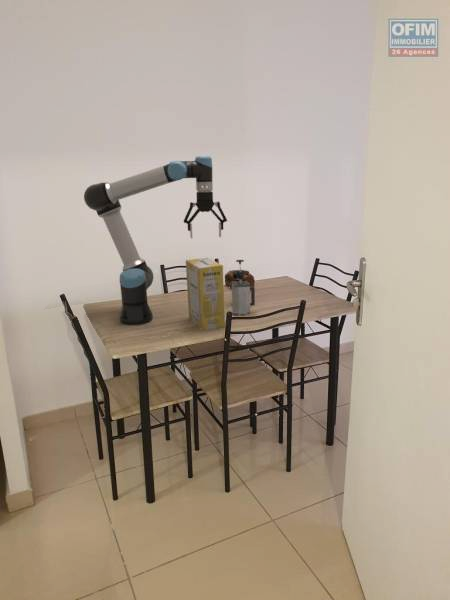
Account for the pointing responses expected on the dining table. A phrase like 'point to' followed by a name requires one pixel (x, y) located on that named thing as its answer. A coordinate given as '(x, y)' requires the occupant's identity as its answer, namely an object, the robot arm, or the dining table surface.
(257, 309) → the dining table surface
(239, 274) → the ball knob on rod
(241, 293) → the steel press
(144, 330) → the dining table surface
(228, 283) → the bread
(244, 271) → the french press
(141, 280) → the robot arm
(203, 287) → the pasta box
